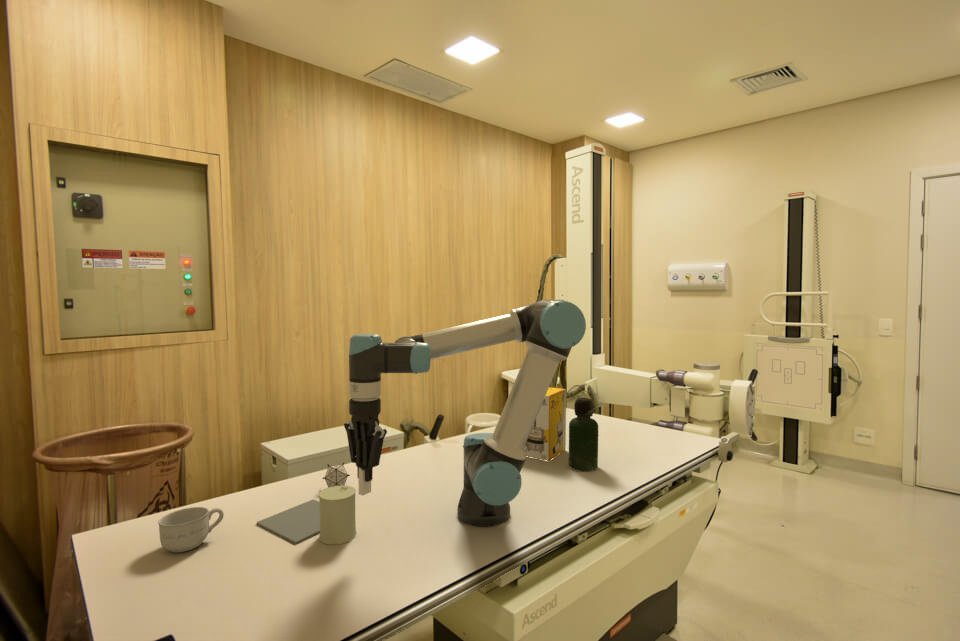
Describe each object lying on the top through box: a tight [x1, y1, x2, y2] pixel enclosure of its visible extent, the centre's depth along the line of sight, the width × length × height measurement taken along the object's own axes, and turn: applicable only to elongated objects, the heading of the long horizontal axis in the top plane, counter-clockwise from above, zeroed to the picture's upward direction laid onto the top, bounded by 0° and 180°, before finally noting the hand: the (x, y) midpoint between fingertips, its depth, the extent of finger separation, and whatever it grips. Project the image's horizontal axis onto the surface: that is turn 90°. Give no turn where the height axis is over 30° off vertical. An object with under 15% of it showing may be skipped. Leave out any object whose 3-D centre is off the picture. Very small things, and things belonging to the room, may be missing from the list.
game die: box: [321, 462, 351, 488], centre depth 154 cm, size 9×8×10 cm
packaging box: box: [523, 386, 567, 462], centre depth 190 cm, size 16×16×25 cm
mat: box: [256, 498, 320, 545], centre depth 132 cm, size 18×18×1 cm
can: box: [318, 485, 357, 546], centre depth 124 cm, size 9×9×12 cm
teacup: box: [157, 506, 225, 553], centre depth 120 cm, size 14×11×8 cm
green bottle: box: [568, 397, 599, 472], centre depth 174 cm, size 10×10×25 cm
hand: (364, 492), depth 117 cm, fingers closed
